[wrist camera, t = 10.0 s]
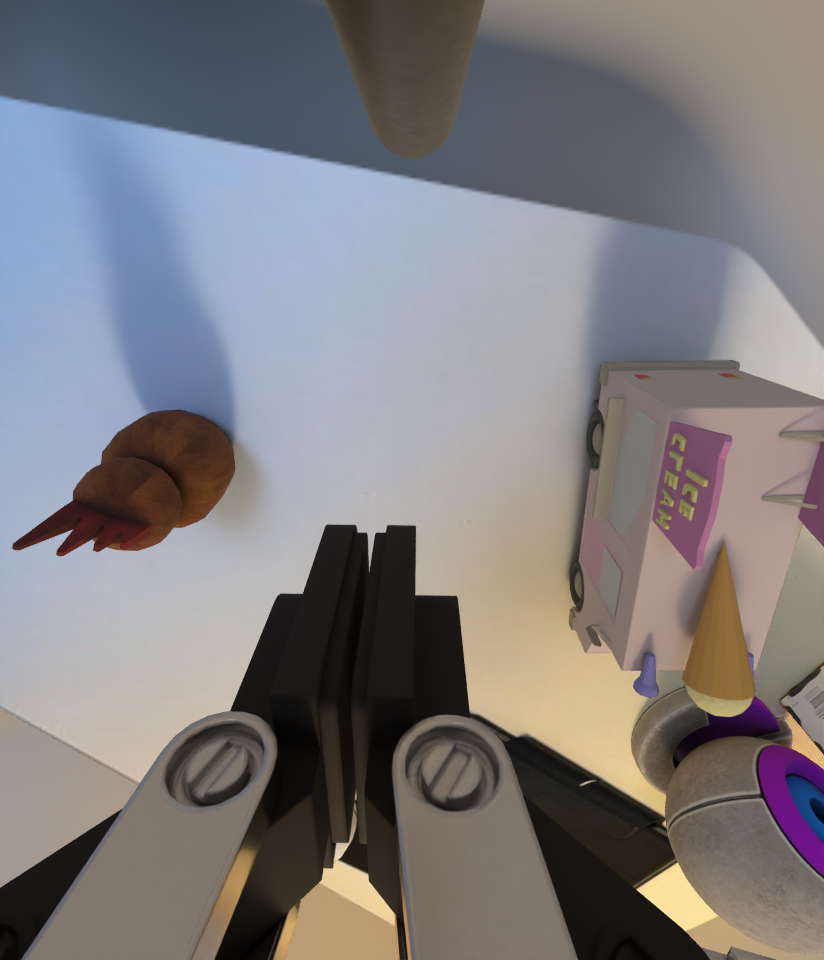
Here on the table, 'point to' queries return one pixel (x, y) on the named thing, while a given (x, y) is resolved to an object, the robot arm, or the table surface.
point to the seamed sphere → (343, 846)
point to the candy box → (809, 706)
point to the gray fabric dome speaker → (741, 816)
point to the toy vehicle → (693, 521)
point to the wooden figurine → (144, 485)
